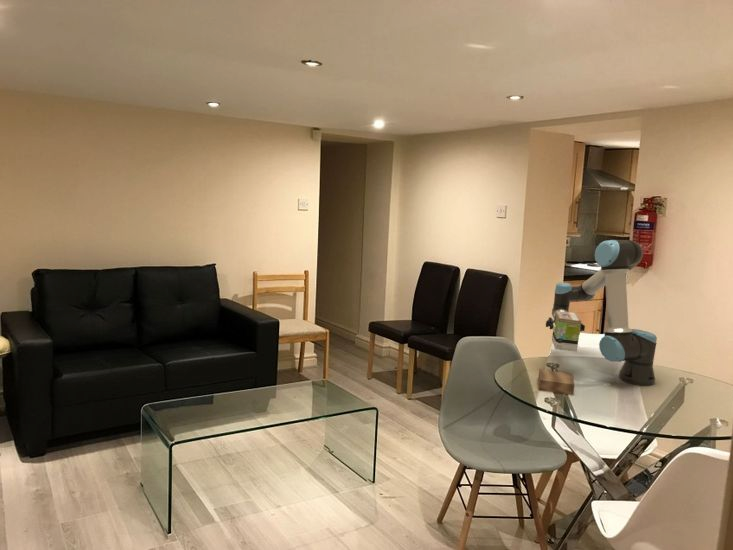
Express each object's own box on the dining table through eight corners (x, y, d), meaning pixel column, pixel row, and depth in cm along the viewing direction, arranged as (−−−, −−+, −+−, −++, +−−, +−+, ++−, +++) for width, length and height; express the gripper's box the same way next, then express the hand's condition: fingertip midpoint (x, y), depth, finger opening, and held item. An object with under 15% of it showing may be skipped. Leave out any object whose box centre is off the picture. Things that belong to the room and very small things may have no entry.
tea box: (577, 352, 264) (581, 320, 261) (554, 349, 266) (558, 317, 263) (573, 342, 279) (577, 312, 276) (551, 340, 280) (554, 310, 278)
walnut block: (570, 384, 263) (571, 373, 263) (573, 395, 250) (574, 384, 249) (538, 379, 267) (539, 369, 266) (538, 390, 254) (540, 379, 253)
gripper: (585, 328, 287) (592, 341, 266) (537, 323, 292) (540, 335, 271) (587, 313, 286) (594, 325, 264) (539, 308, 291) (542, 319, 269)
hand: (566, 330), depth 268 cm, fingers closed on tea box, 10 cm apart
